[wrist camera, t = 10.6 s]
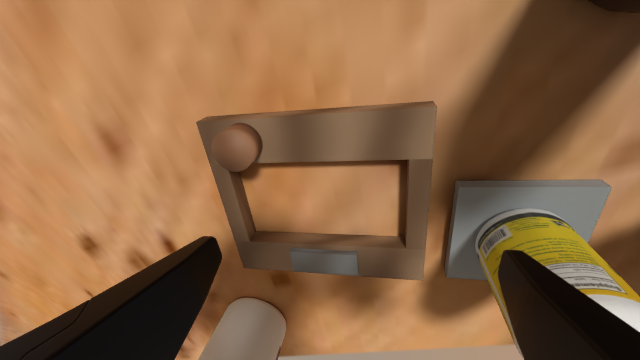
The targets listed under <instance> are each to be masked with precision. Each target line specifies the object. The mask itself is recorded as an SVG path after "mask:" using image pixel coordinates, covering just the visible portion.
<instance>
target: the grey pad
mask: <svg viewBox="0 0 640 360" xmlns="http://www.w3.org/2000/svg"><path fill="white" fill-rule="evenodd" d="M611 188H612V187H611V186H610V185H608V184H607V183H605V182H604V181H603V180H488V181H456V182H455V190H454V198H453V206H452V214H451V221H450V229H449V237H448V245H447V253H446V260H445V268H444V269H445V273H446V277H447V278H458V279H472V280H487V278H486V275H485V273H484V270H483V268H482V266H481V263H480V261H479V259H478V256H477V253H476V248H475V242H476V238H477V235H478V233H479V231H480V230H481V228H482V227H483V226H484V225H485V224H486V223H487V222H488V221H489V220H491V219H492V218H493V217H495V216H497V215H499V214H501V213H504V212H507V211H510V210H515V209H522V208H532V209H540V210H545V211H549V212H551V213H554V214H556V215H557V216H559V217H561V218H562V219H563V220H564V221H565V222H566V223H568V224H569V225H570V226H571V227H572V228H573V229H574V230H575V231H576V232H577V233H578V234H579V235H580V236H581V237H582V238H583V239H584V240H585V241H586V242H587V243H588V242H589V239H590V237H591V235H592V232H593V230H594V228H595V226H596V223H597V221H598V219H599V216H600V214H601V212H602V209H603V207H604V205H605V202H606V200H607V198H608V195H609V193H610V191H611ZM487 281H488V280H487Z"/></svg>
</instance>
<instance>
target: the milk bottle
mask: <svg viewBox="0 0 640 360" xmlns="http://www.w3.org/2000/svg"><path fill="white" fill-rule="evenodd" d="M285 333H286V321H285V319H284V316H283V315H282V314H281V312H280V311H279V310H278V309H277V308H275V307H274V306H272V305H271V304H269V303H267V302H265V301H262V300H259V299H256V298H239V299H237V300H235V301H234V302H232V303H231V304H230V305H229V306H228V308H227V309H226V311H225V313H224V314H223V316H222V318H221V320H220V322H219V323H218V325H217V327H216V329H215V330H214V332H213V334H212V336H211V338H210V339H209V341H208V343H207V345H206V347H205V348H204V350H203V352H202V354H201V356H200V357H199V359H198V360H277V359H278V356H279V353H280V350H281V346H282V343H283V340H284V337H285Z"/></svg>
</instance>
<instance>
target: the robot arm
mask: <svg viewBox="0 0 640 360" xmlns="http://www.w3.org/2000/svg"><path fill="white" fill-rule="evenodd" d="M221 260H222V254H221V251H220V248H219V245H218V243H217V240H216V238H215V237H212V236H203V237H201V238H199V239H197V240H195V241H193V242H192V243H190V244H188V245H186V246H184V247H183V248H181V249H179V250H177V251H175V252H174V253H172V254H170V255H168V256H167V257H165V258H163V259H161V260H159V261H158V262H156V263H154V264H152V265H150V266H149V267H147V268H145V269H143V270H141V271H140V272H138V273H136V274H134V275H132V276H131V277H129V278H127V279H125V280H123V281H122V282H120V283H118V284H116V285H114V286H113V287H111V288H109V289H107V290H106V291H104V292H102V293H100V294H98V295H97V296H95V297H93V298H91V299H90V300H87V301H86V302H84V303H82V304H80V305H79V306H77V307H75V308H73V309H71V310H69V311H68V312H66V313H64V314H62V315H60V316H58V317H57V318H55V319H53V320H51V321H49V322H47V323H45V324H43V325H41V326H39V327H37V328H35V329H33V330H32V331H30V332H28V333H26V334H24V335H22V336H20V337H18V338H16V339H14V340H12V341H10V342H8V343H6V344H4V345H2V346H0V360H175V358H176V356H177V354H178V352H179V350H180V348H181V346H182V344H183V342H184V340H185V339H186V337H187V335H188V333H189V331H190V329H191V327H192V325H193V323H194V321H195V319H196V317H197V316H198V314H199V312H200V310H201V308H202V306H203V304H204V302H205V299H206V297H207V295H208V293H209V290H210V288H211V285H212V283H213V280H214V278H215V275H216V273H217V270H218V268H219V265H220V263H221ZM498 280H499V283H500V287H501V291H502V294H503V298H504V301H505V305H506V308H507V312H508V315H509V319H510V322H511V326H512V329H513V332H514V335H515V338H516V340H517V343H518V345H519V348H520V350H521V353H522V355H523V357H524V360H640V332H639V331H638V330H636V329H635V328H633V327H632V326H630V325H629V324H627V323H626V322H625V321H623V320H622V319H620V318H619V317H617V316H616V315H614V314H613V313H612V312H610V311H609V310H607V309H606V308H604V307H603V306H601V305H600V304H599V303H597V302H596V301H594V300H593V299H591V298H590V297H588V296H587V295H586V294H584V293H583V292H581V291H580V290H578V289H577V288H575V287H574V286H573V285H571V284H570V283H568V282H567V281H565V280H564V279H563V278H561V277H560V276H558V275H557V274H555V273H554V272H552V271H551V270H550V269H548V268H547V267H545V266H544V265H542V264H541V263H539V262H538V261H537V260H535V259H534V258H532V257H531V256H529V255H528V254H526V253H525V252H523V251H521V250H504V251H503V253H502V257H501V260H500V264H499V268H498Z"/></svg>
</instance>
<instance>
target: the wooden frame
mask: <svg viewBox="0 0 640 360" xmlns="http://www.w3.org/2000/svg"><path fill="white" fill-rule="evenodd" d="M436 113H437V106H436V105H435V103H434V102H433V101H429V102H414V103H400V104H385V105H371V106H356V107H342V108H327V109H313V110H298V111H284V112H269V113H255V114H240V115H226V116H211V117H206V118H204V119H202V120H200V121H198V122H196V123H197V126H198V129H199V132H200V136H201V139H202V142H203V145H204V148H205V151H206V154H207V157H208V160H209V163H210V166H211V169H212V172H213V175H214V178H215V181H216V184H217V187H218V190H219V193H220V196H221V199H222V202H223V205H224V208H225V212H226V215H227V218H228V221H229V224H230V227H231V230H232V233H233V236H234V239H235V242H236V245H237V248H238V251H239V254H240V257H241V260H242V263H243V266H244V268H252V269H266V270H280V271H294V272H308V273H323V274H337V275H351V276H365V277H379V278H393V279H407V280H422V281H423V273H424V261H425V249H426V236H427V224H428V212H429V199H430V187H431V175H432V162H433V150H434V138H435V125H436ZM366 160H407V186H406V214H405V237H395V236H368V235H341V234H314V233H287V232H260V231H256V230H255V226H254V222H253V219H252V215H251V212H250V208H249V204H248V201H247V197H246V194H245V190H244V186H243V183H242V179H241V176H240V171H243V170H245V169H247V168H248V167H249V166H250V165H251V164H252V163H283V162H324V161H366Z"/></svg>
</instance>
